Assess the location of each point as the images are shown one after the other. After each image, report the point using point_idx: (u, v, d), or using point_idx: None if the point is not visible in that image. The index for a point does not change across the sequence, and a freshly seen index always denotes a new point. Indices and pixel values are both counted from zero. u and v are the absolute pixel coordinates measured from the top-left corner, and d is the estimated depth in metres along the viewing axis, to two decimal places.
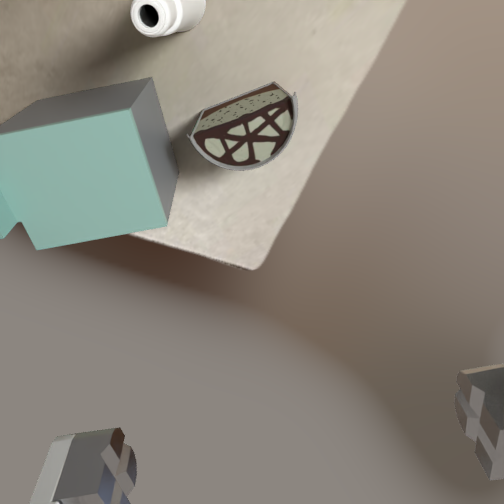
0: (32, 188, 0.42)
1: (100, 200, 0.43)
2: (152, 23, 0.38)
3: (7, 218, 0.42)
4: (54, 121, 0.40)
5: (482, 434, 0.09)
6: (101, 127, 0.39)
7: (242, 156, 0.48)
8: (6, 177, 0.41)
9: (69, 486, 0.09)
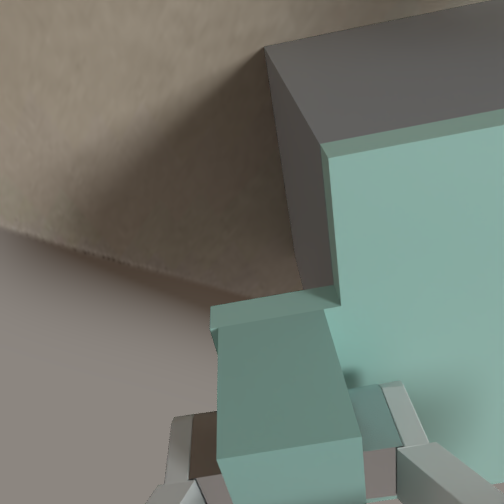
0: (453, 346, 0.11)
1: None
2: None
3: None
4: None
5: None
6: None
7: None
8: (375, 311, 0.10)
9: (202, 466, 0.09)
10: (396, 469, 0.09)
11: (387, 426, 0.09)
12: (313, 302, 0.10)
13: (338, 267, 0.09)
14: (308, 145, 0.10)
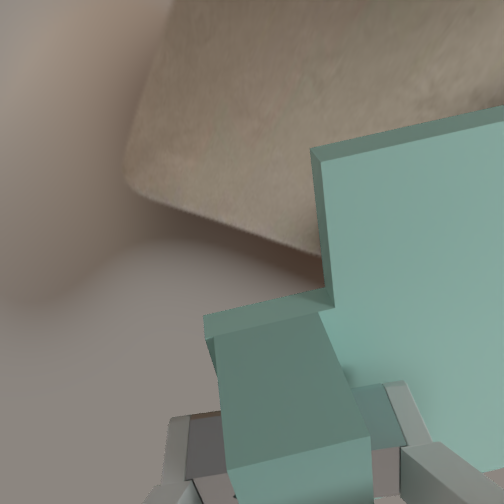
0: (442, 341, 0.11)
1: None
2: None
3: None
4: None
5: None
6: None
7: None
8: (368, 311, 0.10)
9: (199, 465, 0.09)
10: (400, 468, 0.09)
11: (391, 425, 0.09)
12: (306, 305, 0.10)
13: (331, 269, 0.09)
14: None
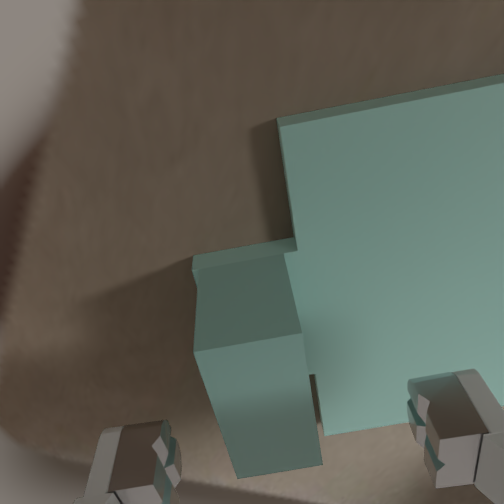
0: (392, 287, 0.13)
1: None
2: None
3: None
4: None
5: (428, 442, 0.09)
6: None
7: None
8: (325, 256, 0.12)
9: (122, 478, 0.09)
10: (478, 456, 0.09)
11: (469, 413, 0.09)
12: (276, 249, 0.12)
13: (293, 217, 0.12)
14: None
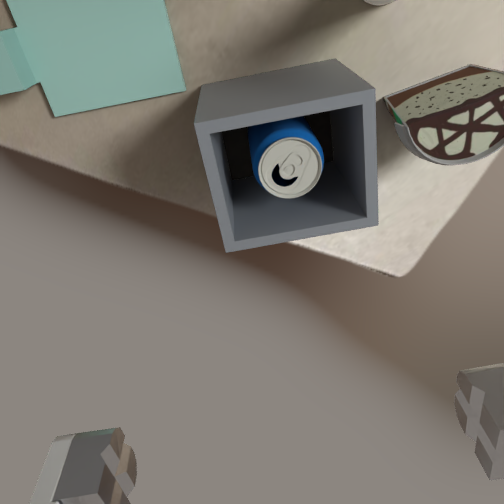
0: (52, 43, 0.42)
1: (120, 58, 0.43)
2: None
3: (27, 74, 0.42)
4: (279, 105, 0.34)
5: (482, 434, 0.09)
6: None
7: (456, 149, 0.41)
8: (26, 29, 0.41)
9: (68, 486, 0.09)
10: None
11: None
12: (12, 28, 0.41)
13: (12, 14, 0.41)
14: None
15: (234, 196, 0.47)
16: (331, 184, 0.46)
